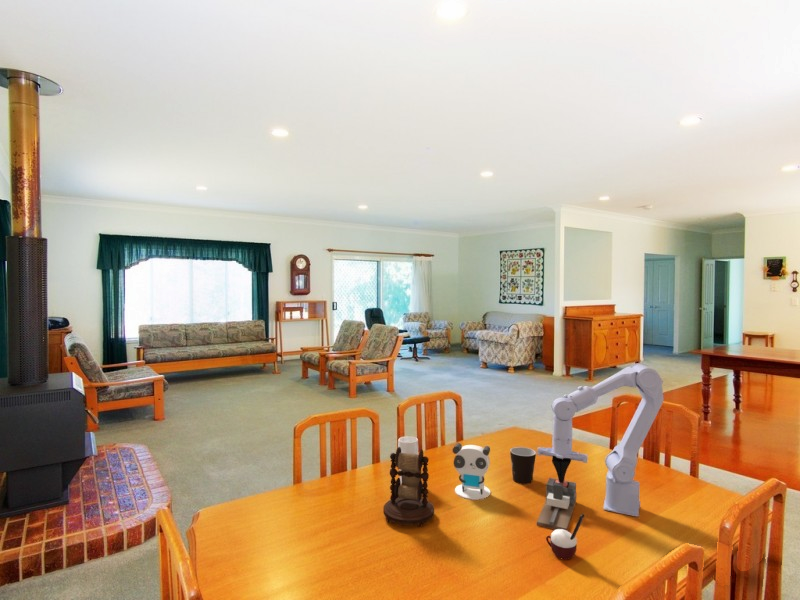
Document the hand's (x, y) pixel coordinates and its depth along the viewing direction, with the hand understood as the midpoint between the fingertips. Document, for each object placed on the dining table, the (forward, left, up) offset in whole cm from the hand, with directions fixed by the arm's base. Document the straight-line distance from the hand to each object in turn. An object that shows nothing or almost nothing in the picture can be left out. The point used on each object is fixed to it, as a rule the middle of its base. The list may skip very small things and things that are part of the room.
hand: (561, 481), depth 148 cm
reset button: (0, 0, -2) cm, 2 cm away
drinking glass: (+48, +9, -7) cm, 49 cm away
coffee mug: (+14, -13, -7) cm, 20 cm away
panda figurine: (+27, +5, -7) cm, 28 cm away
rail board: (0, +7, -7) cm, 10 cm away
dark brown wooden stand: (+38, +29, -7) cm, 48 cm away
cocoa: (-5, +29, -7) cm, 31 cm away
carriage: (0, +6, -5) cm, 8 cm away
